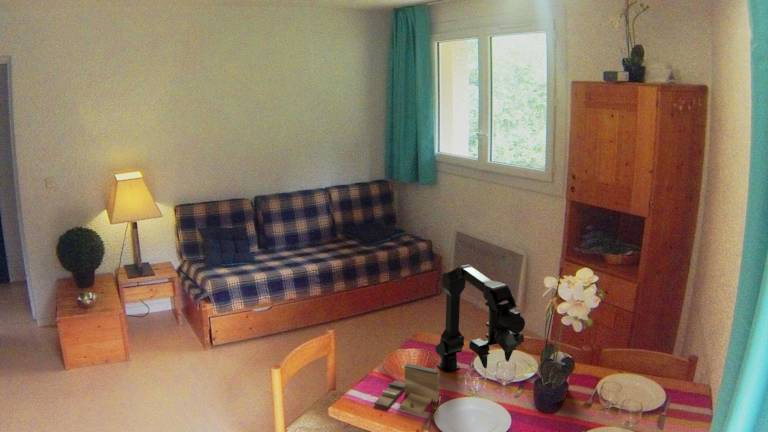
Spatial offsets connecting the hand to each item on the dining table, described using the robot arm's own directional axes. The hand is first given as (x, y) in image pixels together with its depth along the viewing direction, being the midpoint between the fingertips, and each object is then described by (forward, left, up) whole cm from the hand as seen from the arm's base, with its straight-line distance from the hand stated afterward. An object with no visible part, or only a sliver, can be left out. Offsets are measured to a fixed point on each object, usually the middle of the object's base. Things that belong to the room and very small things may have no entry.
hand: (496, 364), depth 203 cm
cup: (+4, +25, -15) cm, 29 cm away
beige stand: (-14, -23, -15) cm, 30 cm away
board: (-22, -28, -15) cm, 39 cm away
